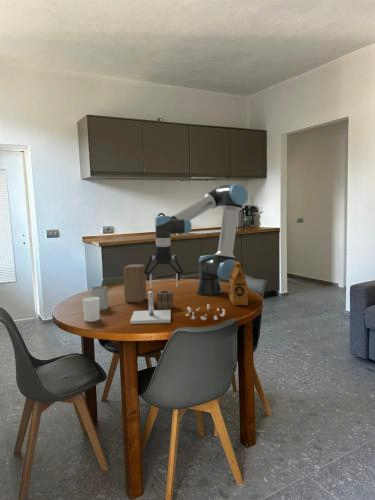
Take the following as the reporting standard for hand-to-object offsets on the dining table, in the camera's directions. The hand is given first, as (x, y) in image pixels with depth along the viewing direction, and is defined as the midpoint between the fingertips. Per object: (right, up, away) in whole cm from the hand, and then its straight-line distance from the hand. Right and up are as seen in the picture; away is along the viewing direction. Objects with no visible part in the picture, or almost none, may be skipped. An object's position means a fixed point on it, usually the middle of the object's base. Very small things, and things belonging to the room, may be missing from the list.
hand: (163, 286), depth 193 cm
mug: (-34, -12, +4) cm, 36 cm away
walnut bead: (+1, -11, +1) cm, 11 cm away
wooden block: (-17, -10, +18) cm, 26 cm away
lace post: (-5, -11, -18) cm, 22 cm away
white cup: (-33, -14, -18) cm, 40 cm away
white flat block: (-5, -13, -18) cm, 22 cm away
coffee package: (+39, -10, +6) cm, 41 cm away
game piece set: (+21, -13, -14) cm, 28 cm away
